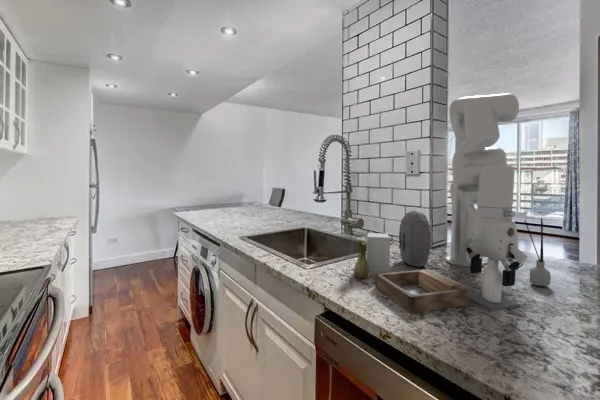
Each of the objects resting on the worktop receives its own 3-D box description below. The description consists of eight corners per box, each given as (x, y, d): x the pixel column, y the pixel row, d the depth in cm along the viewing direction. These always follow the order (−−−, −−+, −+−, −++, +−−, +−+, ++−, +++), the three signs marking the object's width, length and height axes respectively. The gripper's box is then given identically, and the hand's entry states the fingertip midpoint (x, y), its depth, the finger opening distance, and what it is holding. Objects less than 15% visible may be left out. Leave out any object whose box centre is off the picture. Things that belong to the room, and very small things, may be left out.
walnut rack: (425, 281, 93) (426, 269, 92) (470, 305, 76) (470, 289, 76) (375, 287, 88) (375, 274, 88) (410, 313, 72) (410, 297, 72)
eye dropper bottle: (480, 300, 77) (482, 255, 76) (482, 293, 82) (484, 250, 81) (500, 305, 75) (502, 257, 74) (502, 297, 79) (504, 252, 78)
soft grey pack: (432, 270, 104) (433, 212, 102) (408, 270, 103) (409, 213, 102) (413, 258, 119) (414, 208, 117) (392, 258, 119) (393, 208, 117)
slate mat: (489, 292, 84) (489, 290, 84) (520, 306, 75) (520, 304, 75) (462, 296, 82) (462, 294, 82) (490, 310, 73) (491, 308, 73)
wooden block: (430, 284, 91) (430, 269, 90) (463, 301, 78) (464, 284, 78) (417, 285, 90) (417, 270, 89) (449, 303, 77) (449, 286, 77)
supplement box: (389, 275, 99) (390, 237, 98) (366, 274, 101) (367, 236, 99) (387, 268, 106) (388, 233, 105) (366, 267, 108) (366, 232, 107)
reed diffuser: (550, 292, 84) (555, 221, 82) (520, 287, 88) (524, 219, 86) (549, 282, 92) (553, 217, 90) (521, 277, 96) (524, 215, 94)
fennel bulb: (366, 281, 94) (366, 243, 93) (351, 278, 96) (351, 241, 95) (371, 275, 99) (371, 239, 98) (356, 273, 101) (356, 238, 100)
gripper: (540, 217, 69) (535, 289, 70) (478, 209, 86) (475, 267, 87) (514, 219, 67) (510, 293, 69) (456, 210, 84) (454, 270, 85)
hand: (491, 279), depth 78 cm, fingers open, 9 cm apart
